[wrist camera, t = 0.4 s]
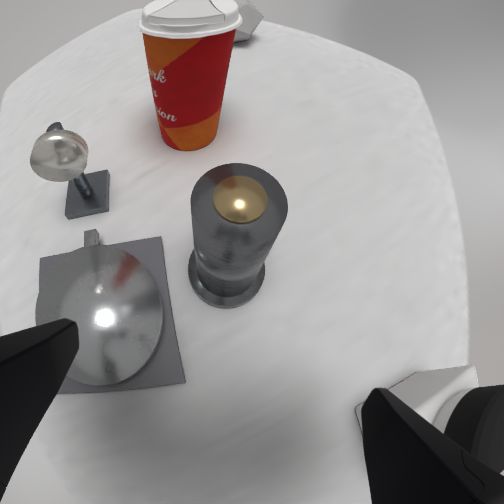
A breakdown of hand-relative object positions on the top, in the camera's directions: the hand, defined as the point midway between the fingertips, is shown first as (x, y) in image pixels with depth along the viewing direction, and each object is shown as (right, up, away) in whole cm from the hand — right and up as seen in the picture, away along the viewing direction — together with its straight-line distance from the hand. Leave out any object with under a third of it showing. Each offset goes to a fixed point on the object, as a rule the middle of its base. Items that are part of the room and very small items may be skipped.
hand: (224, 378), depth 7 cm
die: (-3, +37, +29) cm, 47 cm away
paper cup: (-6, +15, +20) cm, 26 cm away
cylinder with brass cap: (-1, +2, +15) cm, 15 cm away
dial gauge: (-14, +8, +15) cm, 22 cm away
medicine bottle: (+13, -11, +12) cm, 21 cm away
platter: (-10, -1, +11) cm, 15 cm away
